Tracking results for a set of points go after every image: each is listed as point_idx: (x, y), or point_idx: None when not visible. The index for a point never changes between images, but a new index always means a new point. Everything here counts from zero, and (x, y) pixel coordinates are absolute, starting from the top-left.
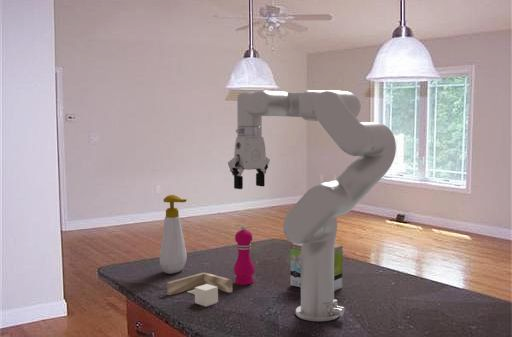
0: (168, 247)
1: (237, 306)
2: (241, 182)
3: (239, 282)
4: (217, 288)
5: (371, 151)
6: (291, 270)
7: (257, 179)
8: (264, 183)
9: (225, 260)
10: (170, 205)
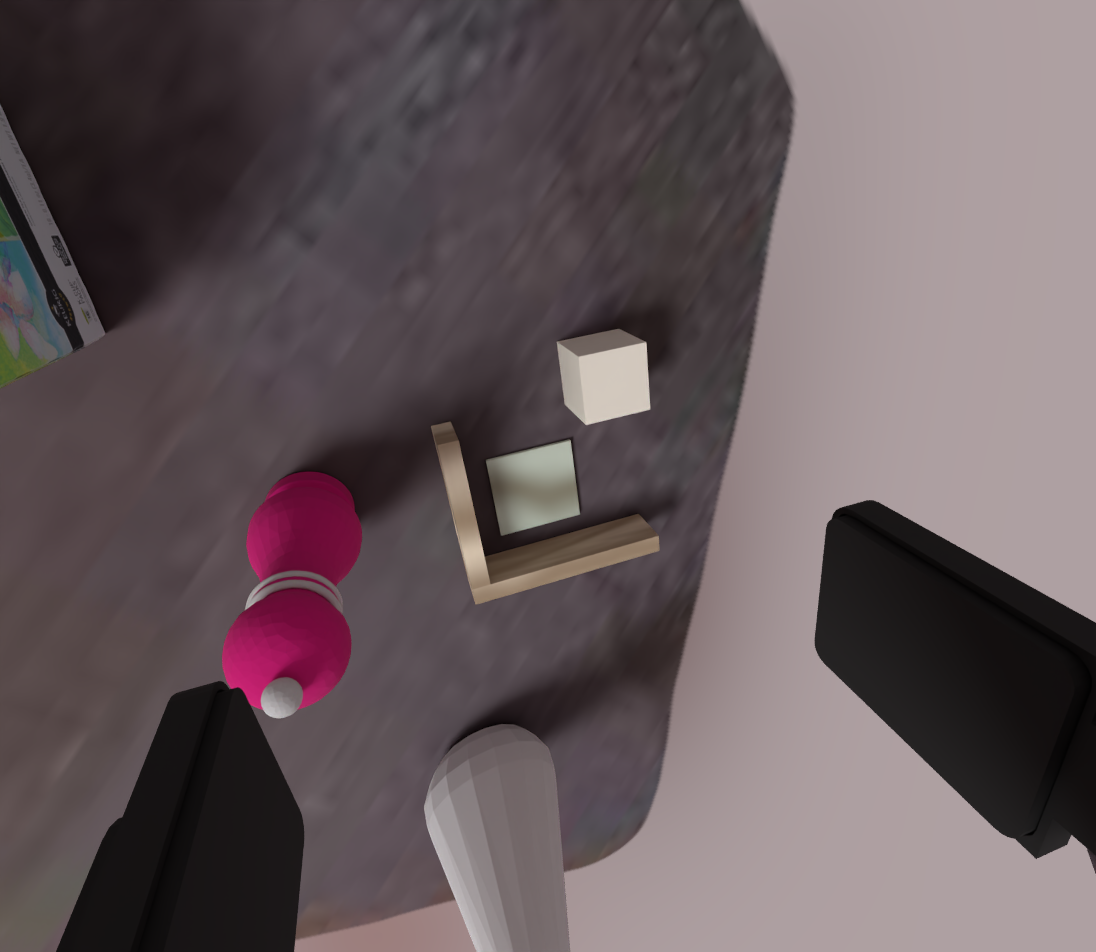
0: (546, 806)
1: (525, 242)
2: (973, 561)
3: (349, 496)
4: (578, 354)
5: None
6: (68, 341)
7: (273, 940)
8: (155, 736)
9: None
10: None
